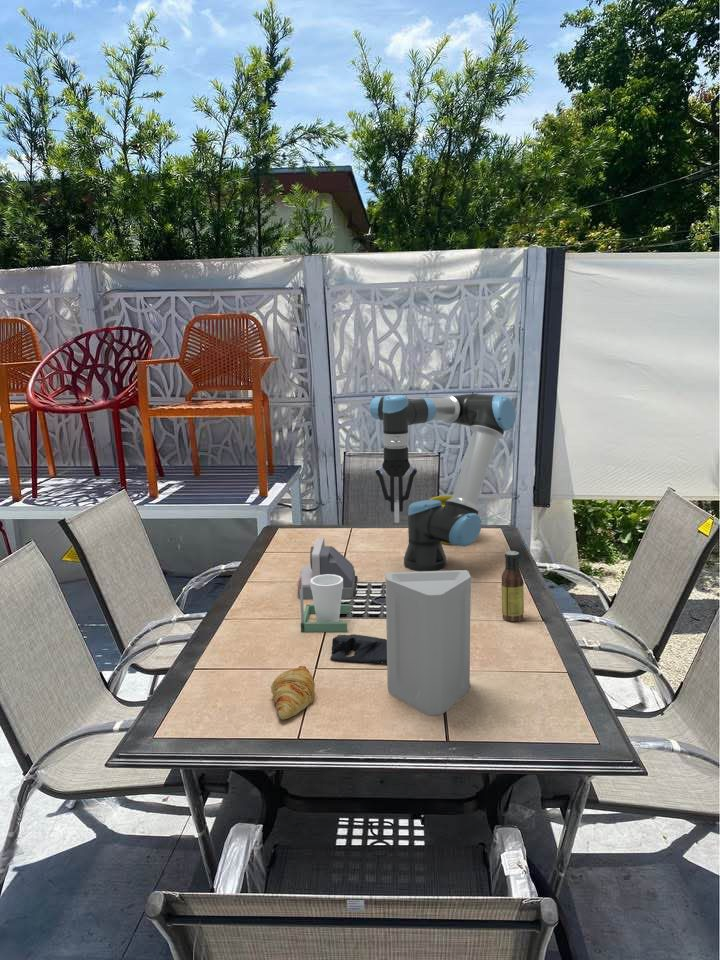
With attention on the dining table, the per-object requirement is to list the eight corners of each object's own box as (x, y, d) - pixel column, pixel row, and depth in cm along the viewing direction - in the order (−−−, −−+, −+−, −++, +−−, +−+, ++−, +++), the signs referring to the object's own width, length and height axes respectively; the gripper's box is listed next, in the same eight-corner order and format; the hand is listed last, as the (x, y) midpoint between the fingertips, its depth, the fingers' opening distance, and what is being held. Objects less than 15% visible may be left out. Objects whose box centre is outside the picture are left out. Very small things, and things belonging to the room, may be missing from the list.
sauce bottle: (527, 617, 204) (529, 552, 200) (516, 624, 200) (518, 557, 196) (508, 612, 209) (509, 548, 204) (496, 618, 204) (497, 553, 200)
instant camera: (306, 576, 244) (304, 534, 241) (364, 578, 240) (364, 536, 237) (288, 599, 223) (286, 554, 220) (352, 602, 219) (351, 556, 216)
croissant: (297, 739, 153) (312, 710, 151) (255, 718, 153) (271, 689, 151) (313, 688, 173) (327, 662, 171) (277, 669, 173) (291, 643, 171)
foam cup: (343, 628, 200) (342, 585, 197) (311, 629, 200) (309, 586, 197) (344, 615, 209) (343, 573, 206) (313, 616, 209) (311, 574, 206)
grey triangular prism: (391, 716, 154) (389, 596, 148) (387, 683, 169) (385, 572, 163) (478, 713, 155) (479, 593, 149) (466, 680, 169) (467, 570, 163)
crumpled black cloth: (408, 672, 175) (407, 655, 174) (324, 662, 181) (324, 645, 180) (421, 646, 189) (421, 629, 188) (344, 637, 195) (343, 621, 194)
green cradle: (349, 612, 211) (348, 559, 208) (346, 637, 194) (344, 580, 191) (306, 612, 212) (304, 560, 209) (299, 637, 195) (296, 581, 191)
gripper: (374, 449, 210) (375, 525, 215) (417, 448, 209) (418, 524, 214) (374, 444, 217) (376, 518, 222) (417, 444, 217) (417, 518, 222)
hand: (396, 521), depth 218 cm, fingers closed
